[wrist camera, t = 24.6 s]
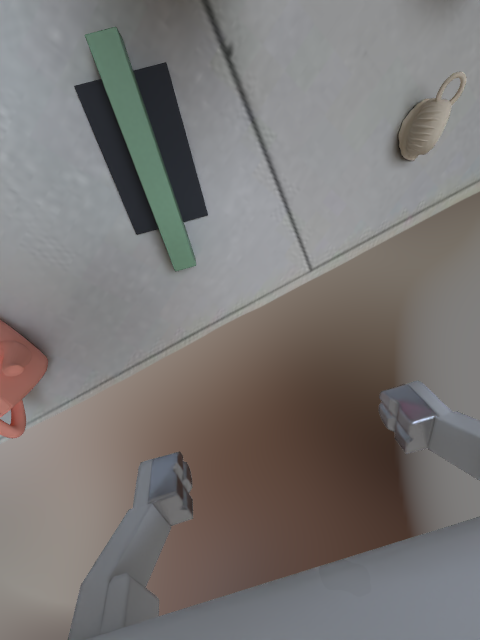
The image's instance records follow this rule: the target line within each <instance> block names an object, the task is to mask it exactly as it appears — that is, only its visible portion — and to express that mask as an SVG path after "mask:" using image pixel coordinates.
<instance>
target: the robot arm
mask: <svg viewBox="0 0 480 640" xmlns="http://www.w3.org/2000/svg"><path fill="white" fill-rule="evenodd" d="M379 398H380V399H381V401H382V402H381V403H380V405H379V414H380V416H381V419H382V421H383V423H384V424H385V426H386V427H387V428H388V429H389V430H391V431H393V432H395V439H396V441H397V442H398V443H399V445H400V446H401V447H402V449H403V450H404V452H405V453H406V454H408V453H412V452H415V451H419V450H423V449H426V448H428V449H429V450H430V451H432V452H433V453H435V454H437V455H438V456H440V457H442V458H443V459H445V460H447V461H448V462H450V463H451V464H453V465H455V466H456V467H458V468H459V469H461V470H463V471H464V472H466V473H468V474H469V475H471V476H472V477H474V478H476V479H477V480H479V481H480V420H477V419H475V418H472V417H470V416H468V415H465V414H463V413H460V412H458V411H456V412H452V411H451V410H450V409H449V408H448V407H447V406H446V405H445V404H444V403H443V402H442V401H441V400H440V399H439V398H438V397H437V396H436V395H435V394H434V393H433V392H432V391H430V390H429V389H428V388H427V387H426V386H425V385H424V384H423V383H422V382H420V381H414V382H411V383H408V384H403V385H400V386H397V387H394V388H390V389H387V390H384V391H381V392H380V396H379ZM191 489H192V477H191V471H190V468H189V466H188V464H187V462H184V461H183V455H182V454H181V452H176V453H173V454H169V455H166V456H162V457H158V458H155V459H151V460H148V461H144V462H141V463H140V466H139V469H138V476H137V483H136V489H135V497H134V503H133V508H132V509H129V510H128V512H127V513H126V515H125V517H124V518H123V520H122V521H121V523H120V524H119V526H118V528H117V529H116V531H115V533H114V534H113V535H112V537H111V539H110V540H109V542H108V543H107V545H106V546H105V548H104V550H103V551H102V553H101V554H100V556H99V558H98V559H97V561H96V562H95V564H94V565H93V567H92V569H91V570H90V572H89V573H88V575H87V577H86V578H85V579H84V581H83V583H82V584H81V587H80V591H79V595H78V599H77V604H76V608H75V612H74V617H73V620H72V624H71V629H70V633H69V637H68V640H480V517H476V518H473V519H470V520H467V521H464V522H460V523H458V524H454V525H451V526H448V527H444V528H441V529H438V530H435V531H432V532H429V533H426V534H422V535H419V536H415V537H413V538H409V539H406V540H403V541H399V542H396V543H393V544H390V545H387V546H384V547H380V548H377V549H374V550H371V551H367V552H364V553H361V554H358V555H354V556H351V557H348V558H345V559H342V560H338V561H335V562H332V563H329V564H326V565H323V566H319V567H316V568H313V569H310V570H307V571H303V572H300V573H297V574H294V575H291V576H287V577H284V578H281V579H278V580H274V581H271V582H268V583H265V584H261V585H258V586H255V587H252V588H249V589H245V590H242V591H239V592H236V593H233V594H229V595H226V596H223V597H220V598H217V599H214V600H210V601H207V602H204V603H200V604H197V605H194V606H191V607H188V608H184V609H181V610H178V611H175V612H172V613H168V614H165V615H162V616H159V615H158V614H159V599H158V598H157V597H156V596H155V595H154V594H153V593H152V592H150V591H149V590H148V589H147V588H146V586H147V583H148V581H149V579H150V576H151V574H152V571H153V569H154V567H155V564H156V562H157V560H158V558H159V555H160V552H161V550H162V548H163V546H164V543H165V541H166V539H167V536H168V534H169V532H170V529H171V526H172V525H175V524H178V523H181V522H184V521H187V520H190V519H193V499H192V498H191V496H190V495H189V492H190V491H191ZM158 616H159V617H158Z"/></svg>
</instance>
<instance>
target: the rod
mask: <svg viewBox="0 0 480 640" xmlns="http://www.w3.org/2000/svg"><path fill="white" fill-rule="evenodd" d="M85 37H86V40H87V43H88V45H89V48H90V50H91V53H92V56H93V58H94V61H95V64H96V66H97V69H98V71H99V74H100V77H101V79H102V82H103V84H104V87H105V90H106V92H107V95H108V97H109V100H110V103H111V105H112V108H113V111H114V113H115V116H116V118H117V121H118V124H119V126H120V129H121V131H122V134H123V137H124V139H125V142H126V144H127V147H128V150H129V152H130V155H131V157H132V160H133V163H134V165H135V168H136V171H137V173H138V176H139V178H140V181H141V184H142V186H143V189H144V191H145V194H146V197H147V199H148V202H149V204H150V207H151V210H152V212H153V215H154V218H155V220H156V223H157V225H158V228H159V231H160V233H161V236H162V238H163V241H164V244H165V246H166V249H167V251H168V254H169V257H170V259H171V262H172V265H173V267H174V270H175V271H179V270H183V269H186V268H190V267H193V266H196V259H195V256H194V253H193V250H192V247H191V244H190V241H189V238H188V235H187V232H186V229H185V226H184V222H183V219H182V216H181V213H180V210H179V207H178V204H177V201H176V198H175V195H174V192H173V189H172V186H171V183H170V180H169V177H168V174H167V171H166V168H165V165H164V162H163V159H162V156H161V153H160V150H159V147H158V144H157V141H156V138H155V135H154V132H153V129H152V126H151V123H150V120H149V117H148V114H147V111H146V108H145V105H144V102H143V99H142V96H141V93H140V90H139V87H138V84H137V81H136V78H135V75H134V72H133V69H132V66H131V63H130V60H129V57H128V54H127V51H126V48H125V45H124V42H123V39H122V37H121V35H120V33H119V31H118V29H117V28H116V27H112V28H109V29H105V30H101V31H97V32H94V33H90V34H86V35H85Z"/></svg>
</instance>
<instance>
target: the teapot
mask: <svg viewBox="0 0 480 640" xmlns="http://www.w3.org/2000/svg"><path fill="white" fill-rule="evenodd" d="M47 366H48V359H47V357H46V356H45V355H44V354H43V353H42V352H41V351H39V350H38V349H37V348H36V347H35V346H34V345H33V344H31V343H30V342H29V341H28V340H27V339H25V338H24V337H23V336H22V335H20V334H19V333H18V332H17V331H15V330H14V329H13V328H11V327H10V326H9V325H7V324H6V323H4V322H3V321H2V320H0V417H2V416H3V415H4V414H6V413H7V412H8V411H9V410H11V424H10V425H9V424H7V423H5V422H4V421H2V420H1V419H0V434H1V435H2V436H5V437H7V438H17V437H19V436H21V435H22V434H23V432H24V431H25V426H26V415H25V410H24V405H23V401H22V399H23V398H24V397H25V396H26V395H27V394H28V393H29V392H30V391H31V390H32V389H33V388H34V387H35V385H36V384H37V383H38V382H39V381H40V379H41V378H42V377H43V375H44V374H45V372H46V370H47Z"/></svg>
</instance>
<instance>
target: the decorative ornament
mask: <svg viewBox="0 0 480 640" xmlns="http://www.w3.org/2000/svg"><path fill="white" fill-rule="evenodd" d="M455 78H460V80H461V84H460V87H459V89H458V91H457V93H456V94H455V96H454V97H453V98H452V99H451V100H450V101H449V100H446V99H441V97H442V94H443V92H444V90H445V88H446V86H447V85H448V84H449V83H450V82H451V81H452V80H453V79H455ZM465 85H466V75H465V74H464V73H463V72H456V73H454V74H452V75H451V76H450V77H448V78H447V79H446V80H445V82H444V83H443V84H442V86H441V87H440V89H439V91H438V93H437V96H436V98H431V99H424V100H423V101H422V102H420V103H418V104H417V105H416V106H415V108H414V109H412V110H411V111H410V112H409V114H408V116H407V117H406V118H405V119H404V120H403V122H402V125H401V129H400V131H399V135H398V138H399V141H400V144H399V148H400V149H401V155H402V156H404V158H405V159H407V160H411V161H414V160H415V159H416V158H417V157H418V155H424V154H426V153H428V152H429V151H430V150H431V149H432V148H433V147H434V146H435V145H436V143H437V142H438V140H439V138H440V136H441V134H442V132H443V130H444V128H445V126H446V124H447V121H448V119H449V116H450V112H451V106H452V105H453V104H454V103H455V102H456V101H457V100H458V98H459V97H460V95H461V94H462V92H463V90H464V88H465Z"/></svg>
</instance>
